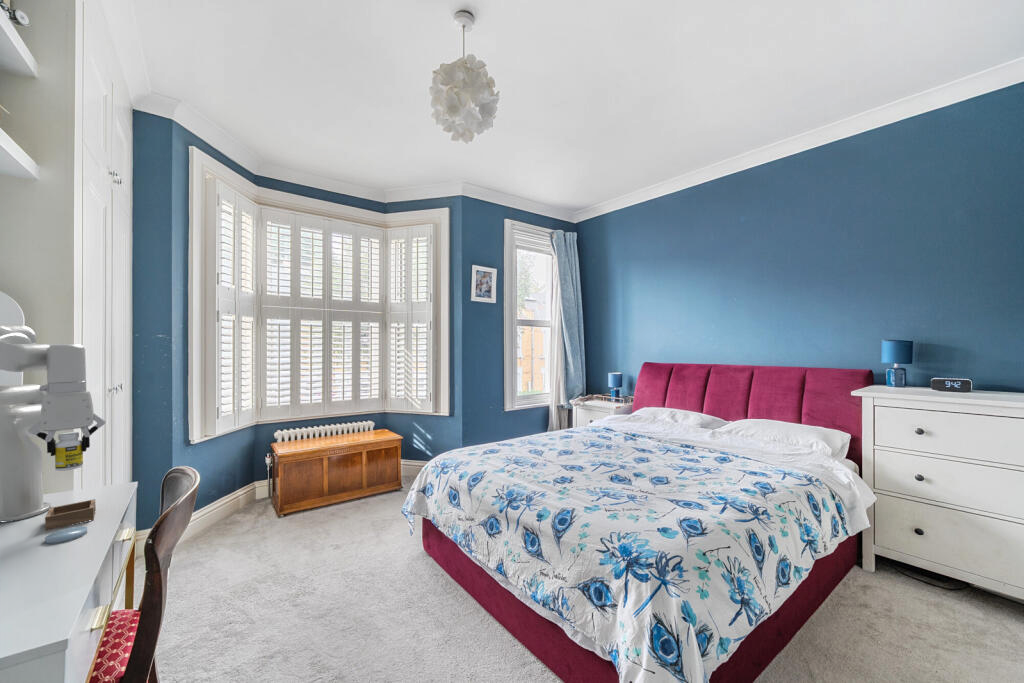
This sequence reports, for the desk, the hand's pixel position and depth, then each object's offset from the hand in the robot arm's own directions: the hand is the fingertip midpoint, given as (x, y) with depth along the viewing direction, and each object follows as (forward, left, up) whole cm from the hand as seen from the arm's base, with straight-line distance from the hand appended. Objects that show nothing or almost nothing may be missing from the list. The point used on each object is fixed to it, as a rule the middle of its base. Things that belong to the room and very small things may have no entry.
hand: (69, 452), depth 119 cm
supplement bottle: (0, 0, -5) cm, 5 cm away
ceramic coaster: (+7, -12, -19) cm, 24 cm away
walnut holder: (0, 0, -19) cm, 19 cm away
